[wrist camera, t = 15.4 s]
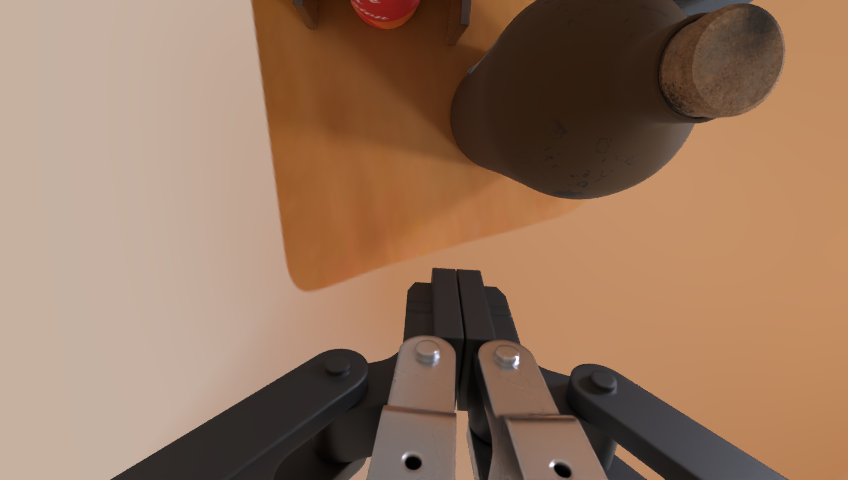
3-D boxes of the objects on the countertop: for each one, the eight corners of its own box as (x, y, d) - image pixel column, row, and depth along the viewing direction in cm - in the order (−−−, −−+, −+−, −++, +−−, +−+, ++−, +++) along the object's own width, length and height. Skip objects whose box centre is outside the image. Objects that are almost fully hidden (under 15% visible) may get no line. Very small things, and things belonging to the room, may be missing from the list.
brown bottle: (573, 157, 38) (908, 179, 14) (461, 192, 38) (602, 279, 14) (547, 34, 36) (900, -203, 11) (427, 71, 35) (525, -89, 11)
